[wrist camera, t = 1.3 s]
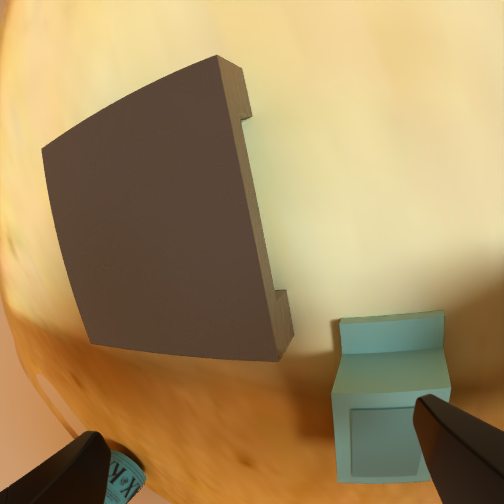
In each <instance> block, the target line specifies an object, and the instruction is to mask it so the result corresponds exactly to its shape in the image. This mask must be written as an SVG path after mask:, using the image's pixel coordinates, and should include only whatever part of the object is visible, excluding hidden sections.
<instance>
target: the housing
mask: <svg viewBox="0 0 504 504" xmlns="http://www.w3.org/2000/svg"><path fill="white" fill-rule="evenodd" d="M444 320H445V315H444V312H443V310H439V311H429V312H419V313H408V314H397V315H384V316H370V317H355V318H341V320H340V324H339V326H340V336H341V346H342V357H341V361H340V364H339V368H338V371H337V375H336V378H335V382H334V385H333V389H332V392H331V400H332V411H333V422H334V435H335V449H336V464H337V482H338V483H362V484H384V483H410V482H424V481H430V478H431V476H430V473H429V471H428V469H427V466H426V463H425V460H424V457H423V454H422V450H421V447H420V444H419V441H418V438H417V435H416V432H415V429H414V426H413V413H414V408H415V403H416V399H417V398H418V397H420V396H423V395H426V394H433V395H435V396H437V397H439V398H440V399H442V400H444V401H446V402H448V403H449V399H450V393H451V383H450V378H449V373H448V368H447V363H446V359H445V354H444V350H443V339H444Z"/></svg>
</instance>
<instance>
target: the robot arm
mask: <svg viewBox="0 0 504 504" xmlns="http://www.w3.org/2000/svg"><path fill="white" fill-rule="evenodd" d="M413 426H414V429H415V432H416V435H417V438H418V441H419V444H420V447H421V450H422V454H423V457H424V460H425V463H426V466H427V469H428V471H429V473H430V476H431V478H432V480H433V482H434V485H435V487H436V489H437V491H438V494H439V496H440V498H441V501H442V503H443V504H504V431H502V430H500V429H498V428H496V427H494V426H492V425H490V424H488V423H486V422H484V421H482V420H480V419H478V418H476V417H474V416H473V415H471V414H469V413H467V412H465V411H463V410H461V409H459V408H457V407H455V406H454V405H452V404H450V403H448V402H446V401H444V400H442V399H440V398H439V397H437V396H435V395H433V394H426V395H423V396H420V397H418V398H417V399H416V403H415V408H414V413H413ZM110 462H111V450H110V448H109V446H108V445H107V443H106V442H105V440H104V438H103V437H102V435H101V434H100V433H99V432H97V431H86V432H84V433H83V434H82V435H80V436H79V437H77V438H76V439H75V440H73V441H72V442H71V443H69V444H68V445H66V446H65V447H64V448H63V449H61V450H60V451H58V452H57V453H56V454H54V455H53V456H51V457H50V458H48V459H47V460H46V461H44V462H43V463H42V464H40V465H39V466H37V467H36V468H34V469H33V470H32V471H30V472H29V473H27V474H26V475H25V476H23V477H22V478H20V479H19V480H17V481H16V482H14V483H13V484H11V485H10V486H9V487H7V488H6V489H4V490H3V491H1V492H0V504H104V502H105V497H106V491H107V484H108V476H109V469H110Z"/></svg>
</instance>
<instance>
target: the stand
mask: <svg viewBox="0 0 504 504" xmlns="http://www.w3.org/2000/svg"><path fill="white" fill-rule="evenodd" d="M249 117H252V112H251V107H250V103H249V98H248V94H247V89H246V84H245V80H244V75H243V71H242V68H240V67H238V66H237V65H235V64H233V63H231V62H229V61H228V60H226V59H224V58H222V57H220V56H218V55H215V56H212V57H210V58H207V59H205V60H202V61H200V62H197V63H195V64H192V65H190V66H188V67H185V68H183V69H181V70H179V71H176V72H174V73H172V74H170V75H167V76H165V77H163V78H161V79H159V80H157V81H155V82H153V83H151V84H149V85H147V86H145V87H143V88H141V89H139V90H137V91H135V92H133V93H131V94H129V95H127V96H125V97H123V98H122V99H120V100H118V101H116V102H114V103H113V104H111V105H109V106H107V107H106V108H104V109H102V110H100V111H99V112H97V113H95V114H94V115H92V116H90V117H89V118H87V119H85V120H84V121H82V122H81V123H79V124H77V125H76V126H74V127H73V128H71V129H70V130H68V131H67V132H65V133H64V134H62V135H61V136H59V137H58V138H56V139H55V140H53V141H52V142H50V143H49V144H48V145H46V146H45V147H43V148H42V157H43V164H44V171H45V177H46V183H47V189H48V195H49V200H50V205H51V210H52V215H53V219H54V224H55V228H56V233H57V237H58V241H59V245H60V249H61V253H62V256H63V260H64V264H65V267H66V271H67V274H68V278H69V281H70V284H71V288H72V291H73V294H74V297H75V300H76V303H77V306H78V309H79V312H80V315H81V318H82V320H83V323H84V326H85V329H86V331H87V334H88V337H89V339H90V342H91V344H97V345H103V346H109V347H116V348H122V349H129V350H136V351H144V352H152V353H161V354H169V355H179V356H189V357H201V358H213V359H228V360H245V361H270V362H279V361H280V359H281V357H282V356H283V354H284V352H285V351H286V349H287V347H288V345H289V343H290V342H291V340H292V338H293V336H294V331H293V325H292V320H291V314H290V308H289V302H288V297H287V291H286V290H276V291H274V286H273V280H272V275H271V270H270V265H269V260H268V254H267V249H266V244H265V239H264V234H263V229H262V224H261V219H260V214H259V208H258V203H257V198H256V193H255V188H254V184H253V179H252V174H251V169H250V164H249V159H248V154H247V149H246V144H245V139H244V135H243V130H242V125H241V120H242V119H245V118H249Z"/></svg>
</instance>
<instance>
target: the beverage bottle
mask: <svg viewBox="0 0 504 504" xmlns="http://www.w3.org/2000/svg"><path fill="white" fill-rule="evenodd" d="M145 481H146V476H145V474H144V472H143V471H142V470H141V468H140V467H139V466H138V465H137V464H136V463H135V462H134V461H132V460H131V459H130V458H129V457H127V456H126V455H124V454H123V453H121V452H119V451H117V450H111V462H110V469H109V476H108V484H107V491H106V497H105V502H104V504H127V503H128V502H129V501H130V500H131V499H132V497H133V496H134V495H135V494H136V493H137V492H138V490H139V489H140V488H141V487H142V485H143V484H144V485H145Z"/></svg>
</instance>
